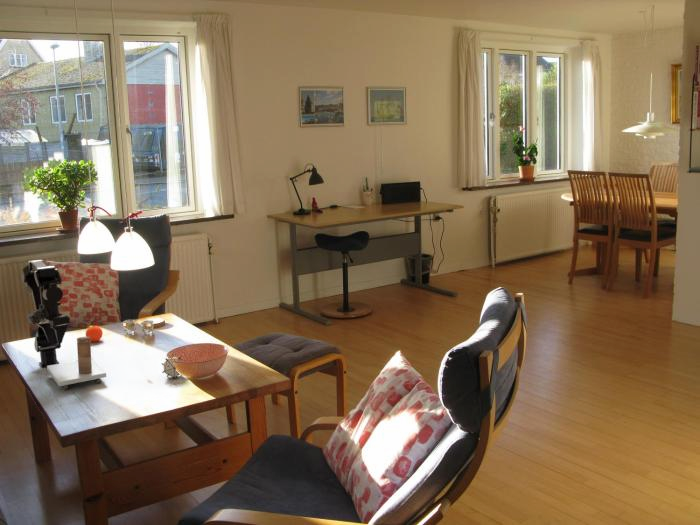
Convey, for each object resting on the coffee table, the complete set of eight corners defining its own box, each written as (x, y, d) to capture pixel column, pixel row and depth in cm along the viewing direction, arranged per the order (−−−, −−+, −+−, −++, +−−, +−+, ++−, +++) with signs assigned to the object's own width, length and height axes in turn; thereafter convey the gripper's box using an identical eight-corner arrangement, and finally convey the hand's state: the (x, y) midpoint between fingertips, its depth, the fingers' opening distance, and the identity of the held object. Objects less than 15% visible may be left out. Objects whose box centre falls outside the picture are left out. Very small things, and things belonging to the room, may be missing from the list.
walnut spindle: (80, 370, 256) (78, 336, 253) (93, 370, 256) (91, 336, 254) (77, 374, 251) (75, 340, 249) (90, 374, 252) (88, 339, 250)
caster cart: (48, 376, 263) (46, 365, 263) (92, 367, 272) (91, 357, 271) (59, 393, 245) (58, 382, 244) (107, 383, 253) (106, 372, 253)
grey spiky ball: (172, 388, 257) (155, 372, 251) (170, 374, 264) (154, 357, 258) (193, 376, 257) (177, 359, 251) (191, 361, 264) (175, 344, 258)
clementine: (80, 343, 306) (79, 327, 305) (91, 338, 313) (89, 322, 311) (96, 344, 304) (95, 327, 302) (106, 339, 310) (105, 323, 309)
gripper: (17, 303, 262) (23, 344, 264) (37, 305, 249) (42, 349, 250) (48, 298, 270) (53, 339, 271) (68, 300, 257) (73, 342, 258)
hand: (54, 342), depth 263 cm, fingers open, 9 cm apart
